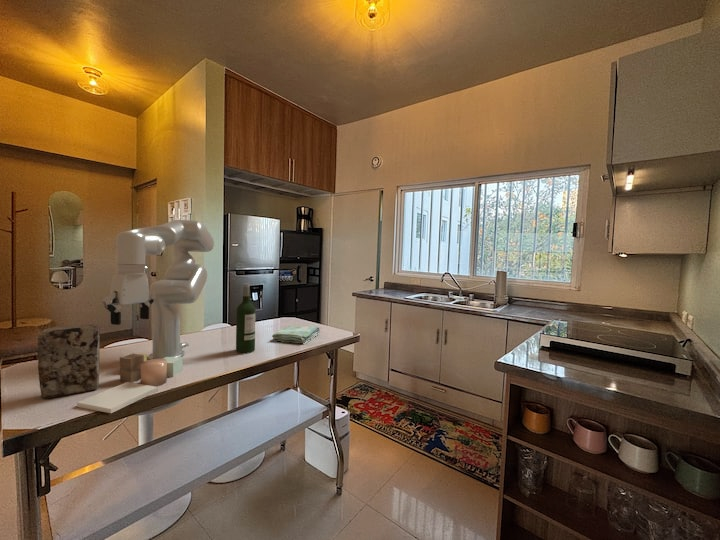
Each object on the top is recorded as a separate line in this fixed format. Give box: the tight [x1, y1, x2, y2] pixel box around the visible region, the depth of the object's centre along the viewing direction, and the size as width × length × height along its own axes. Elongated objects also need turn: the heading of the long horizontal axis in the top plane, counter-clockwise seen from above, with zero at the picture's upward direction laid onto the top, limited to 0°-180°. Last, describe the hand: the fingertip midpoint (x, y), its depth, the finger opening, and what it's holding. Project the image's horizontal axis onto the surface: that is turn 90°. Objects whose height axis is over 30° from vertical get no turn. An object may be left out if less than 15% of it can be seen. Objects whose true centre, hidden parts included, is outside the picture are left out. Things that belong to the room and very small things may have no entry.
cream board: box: [76, 382, 159, 414], centre depth 88 cm, size 14×12×1 cm
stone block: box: [37, 323, 101, 399], centre depth 90 cm, size 13×7×20 cm, turn 131°
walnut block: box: [119, 352, 144, 383], centre depth 100 cm, size 4×4×8 cm
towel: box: [271, 325, 321, 344], centre depth 157 cm, size 18×21×5 cm
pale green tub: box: [163, 356, 184, 378], centre depth 106 cm, size 6×6×5 cm
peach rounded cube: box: [140, 359, 168, 387], centre depth 98 cm, size 7×7×7 cm
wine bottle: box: [235, 283, 256, 354], centre depth 133 cm, size 8×8×30 cm
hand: (130, 321), depth 99 cm, fingers open, 9 cm apart
